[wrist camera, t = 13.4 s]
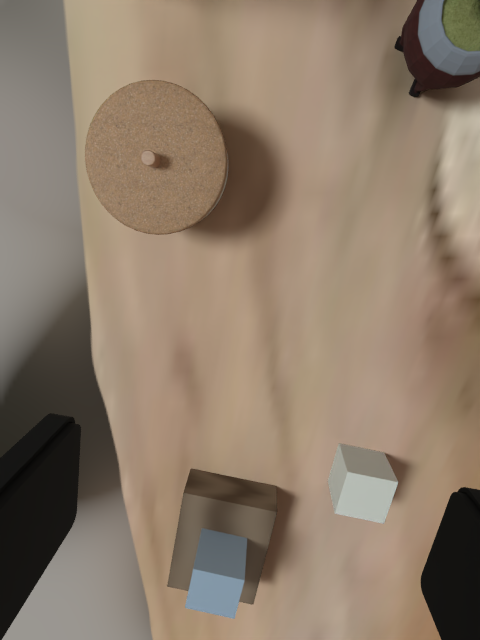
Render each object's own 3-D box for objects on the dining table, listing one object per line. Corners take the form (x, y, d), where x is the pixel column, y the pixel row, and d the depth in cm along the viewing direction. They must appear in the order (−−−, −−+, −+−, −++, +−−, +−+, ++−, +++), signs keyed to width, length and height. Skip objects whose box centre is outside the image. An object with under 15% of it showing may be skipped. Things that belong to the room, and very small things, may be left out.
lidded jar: (118, 106, 35) (66, 70, 26) (236, 108, 35) (225, 71, 25) (124, 228, 38) (79, 233, 29) (233, 232, 37) (222, 238, 28)
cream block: (383, 451, 43) (398, 482, 38) (371, 489, 44) (383, 523, 39) (338, 442, 43) (347, 471, 38) (327, 480, 44) (334, 513, 39)
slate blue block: (247, 538, 42) (244, 580, 37) (238, 573, 43) (234, 618, 38) (201, 528, 42) (193, 568, 37) (194, 563, 43) (184, 607, 39)
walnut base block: (276, 486, 45) (277, 512, 41) (254, 573, 48) (253, 604, 44) (190, 468, 45) (183, 492, 41) (175, 556, 48) (167, 586, 44)
